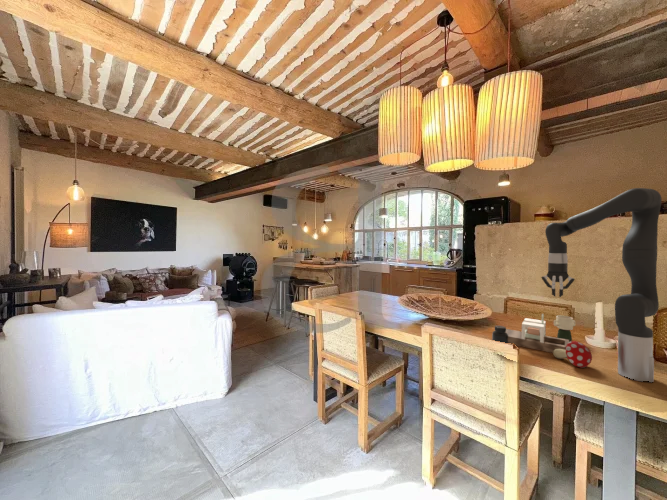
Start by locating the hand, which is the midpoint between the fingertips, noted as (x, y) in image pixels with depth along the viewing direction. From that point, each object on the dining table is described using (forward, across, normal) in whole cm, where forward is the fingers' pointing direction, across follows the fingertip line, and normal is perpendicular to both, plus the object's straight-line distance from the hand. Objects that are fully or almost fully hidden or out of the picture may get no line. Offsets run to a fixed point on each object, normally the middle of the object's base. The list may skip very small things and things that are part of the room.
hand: (557, 296), depth 135 cm
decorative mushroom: (+27, +6, -15) cm, 32 cm away
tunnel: (+23, -9, 0) cm, 25 cm away
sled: (+23, -9, 0) cm, 25 cm away
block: (+23, -10, 0) cm, 25 cm away
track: (+27, -10, 0) cm, 29 cm away
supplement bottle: (+27, -22, -20) cm, 40 cm away
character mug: (+27, +2, +19) cm, 33 cm away
